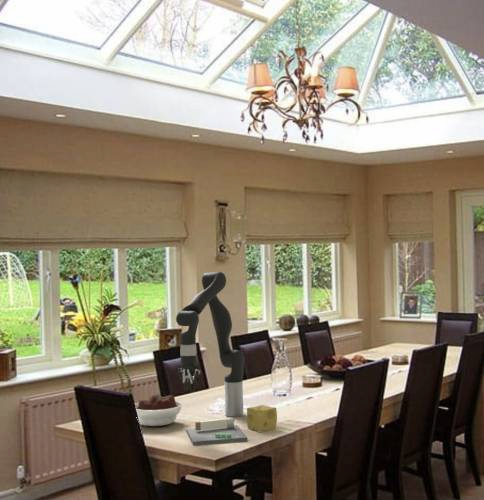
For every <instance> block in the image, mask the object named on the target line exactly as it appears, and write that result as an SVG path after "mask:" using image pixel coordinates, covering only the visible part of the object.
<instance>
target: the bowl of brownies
mask: <svg viewBox="0 0 484 500" xmlns="http://www.w3.org/2000/svg"><path fill="white" fill-rule="evenodd" d="M134 404H135V406H136V410H137V414H138V418H139V421H140V423H139V424H141V425H142V426H147V427H148V426H150V427H162V426H167V425H171V424H173V423H174V422H176V419H177V417H178V415H179V414H180V412H181V411H182V408H183V404H182V402H181V401H177V400H176V399H175V396H174V395H165V396H161V394H159V393H154V394H152V395H151V396H150V397H149V398H148V399H142V400H139V401H138V402H136V403H134ZM139 421H138V422H139Z"/></svg>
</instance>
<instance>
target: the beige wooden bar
mask: <svg viewBox="0 0 484 500" xmlns="http://www.w3.org/2000/svg"><path fill="white" fill-rule="evenodd" d="M194 423H195V424H194V425H195V426H194V427H195V430H196V431H198V430H206V429H214V428H223V427H227V428H233V427H234V425H235V417H225V418H218V419H209V420H201V421H195V422H194Z"/></svg>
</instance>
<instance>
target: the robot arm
mask: <svg viewBox="0 0 484 500" xmlns="http://www.w3.org/2000/svg"><path fill="white" fill-rule="evenodd" d="M201 284H202V287H203V290H202V291H200V292H199V293H197V294H196V295H195V296H194V297H193V298H192V300H191V301H190V303H189V304H187V305H185V306H184V307H183V308H182V309H179V311H178V312H177V314H176V317H175V322H176V323H177V325H178V326H180V327H188V328H187V330H185V331H182V332H180V365H181V367H180V368H177V369H176V372H177V375H178V379H179V381H180V382H182V385H183V390H184V392H187V391H189V387H190V392H191V393H193V392H194V393H195V391H196V383H199V382H200V378H201V375H202V370H201V369H197V363H198V357H197V355H198V354H197V353H198V352H197V342H196V341H197V340H196V339H197V336H196V335H197V330H198V326H199V322H200V317H199V315H200V314H201V313H202V312H203V310H204V309H206V306H207V305H208V307H209V310H210V313H211V318H212V323H213V328H214V331H215V335H216V340H217V345H218V352H219V359H220V363H221V365H222V366H223V367H224V368H230V373H228V374H226V375H224V402H225V403H224V404H225V405H224V409H225V410H224V411H225V412H224V413H225V416H226V417H228V418H236V417H237V418H238V417H242V416H244V387H243V386H244V385H243V384H244V383H243V381H244V380H243V377H244V375H245V374H244V372H245V360H244V359H245V357H244V353H243V352H242V351H241V350H238V349H231V346H230V335H231V332H232V328H233V322H232V318H231V317H232V316H231V314H230V312H229V310H228V308H227V307H226V306H225V305H224V304H223V303H222V301H221V300H220V298H219V297H218V296H217V295H218V294H219V293H220V292H221V291H222V290H224V288H225V286H226V284H227V278H226V275H225V273H224V272H222V271H212V272H211V271H210V272H204V274H203V275H201ZM189 382H190V385H189Z"/></svg>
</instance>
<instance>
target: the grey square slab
mask: <svg viewBox="0 0 484 500" xmlns="http://www.w3.org/2000/svg"><path fill="white" fill-rule="evenodd" d="M185 431H186V434H187V436H188V438H189V439H190V442H191V444H192V445H193V446H200V445H211V444H213V443H214V444H225V443H227V444H228V443H235V442H236V443H237V442H238V443H239V442H248V440H249V439H248V436H247V435H246V434H245V433H244V431H243V430H242V429H241V428H240V426H238V424H236V425H235V424H234V427H233V428H227V427H223V428H214V429H206V430H198V431H196V430H195V428H193V427H192V428H186V430H185ZM214 444H213V445H214Z"/></svg>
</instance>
